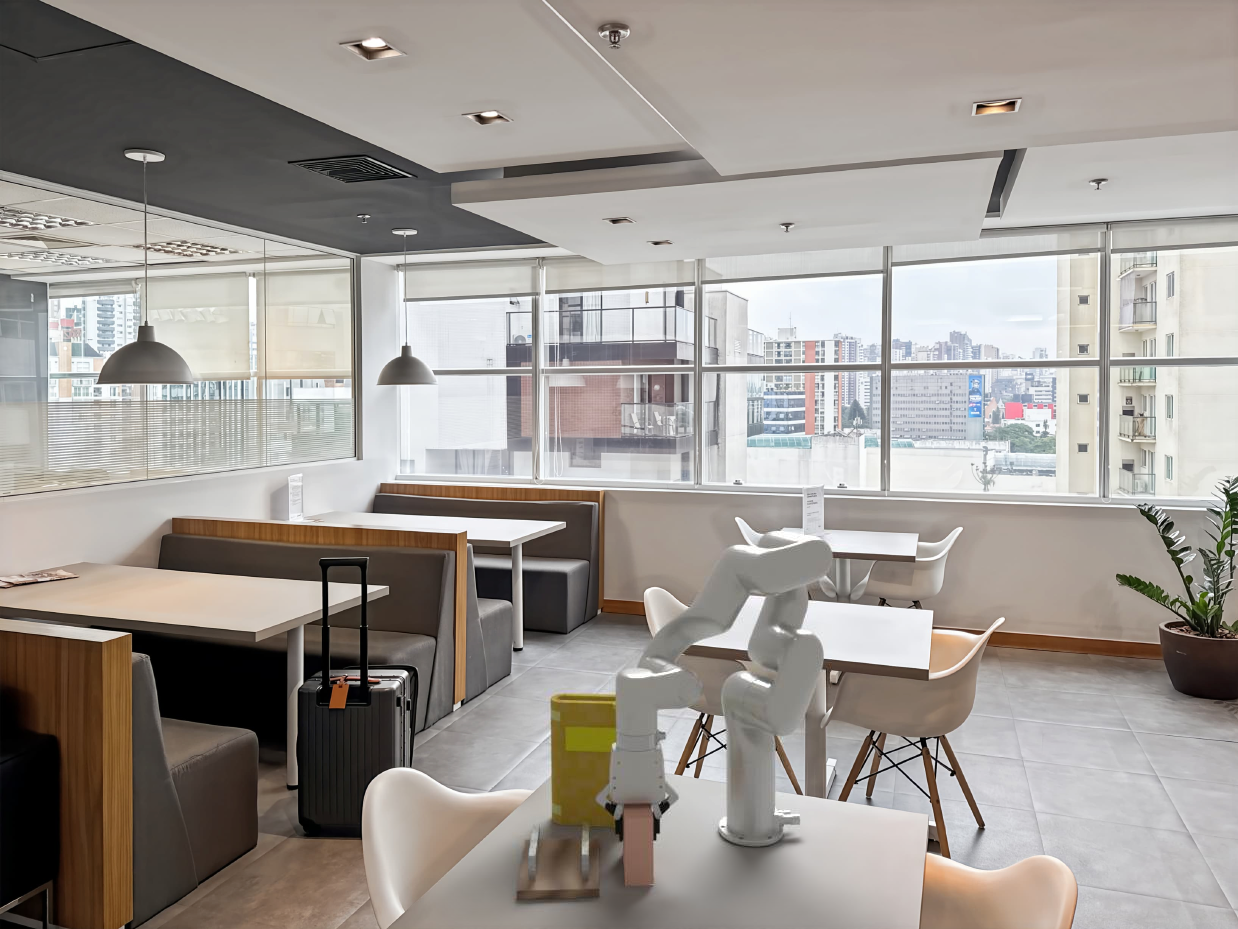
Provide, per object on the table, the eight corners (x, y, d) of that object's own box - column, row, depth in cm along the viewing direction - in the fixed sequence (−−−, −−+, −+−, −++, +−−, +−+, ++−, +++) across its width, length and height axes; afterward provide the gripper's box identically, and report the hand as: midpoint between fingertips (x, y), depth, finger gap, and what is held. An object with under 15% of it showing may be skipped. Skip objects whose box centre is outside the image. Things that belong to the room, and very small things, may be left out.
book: (636, 813, 177) (635, 694, 176) (633, 828, 171) (632, 704, 170) (555, 810, 179) (553, 692, 178) (549, 825, 172) (548, 702, 171)
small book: (649, 853, 161) (649, 791, 160) (653, 885, 150) (653, 818, 149) (622, 854, 161) (622, 791, 160) (625, 886, 150) (624, 818, 149)
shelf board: (598, 845, 164) (598, 837, 164) (599, 897, 146) (599, 888, 146) (525, 847, 164) (525, 839, 163) (516, 899, 146) (516, 890, 145)
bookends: (589, 845, 161) (588, 822, 161) (588, 879, 149) (588, 854, 149) (533, 846, 161) (533, 823, 160) (528, 881, 149) (528, 855, 148)
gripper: (682, 730, 158) (682, 827, 159) (589, 732, 158) (590, 829, 158) (686, 745, 151) (687, 846, 151) (589, 747, 150) (589, 849, 151)
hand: (637, 836), depth 155 cm, fingers open, 5 cm apart
